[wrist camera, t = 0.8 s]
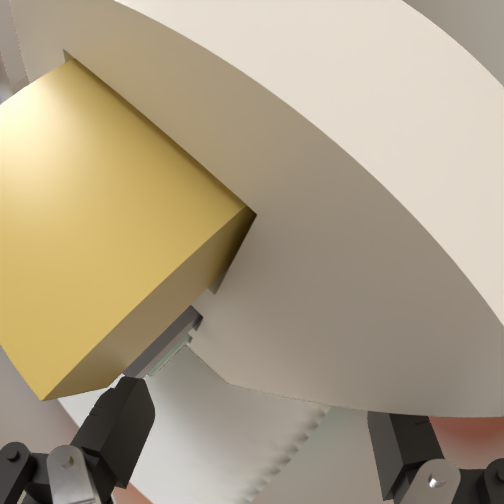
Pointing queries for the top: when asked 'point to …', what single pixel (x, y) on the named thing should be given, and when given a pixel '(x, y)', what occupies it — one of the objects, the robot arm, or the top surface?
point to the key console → (323, 187)
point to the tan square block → (99, 231)
